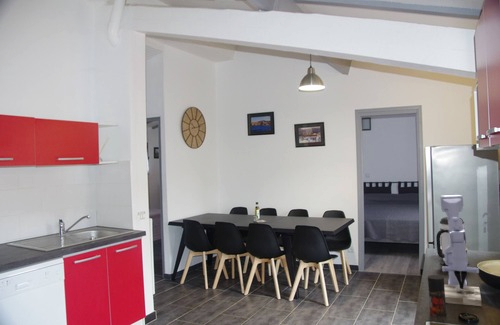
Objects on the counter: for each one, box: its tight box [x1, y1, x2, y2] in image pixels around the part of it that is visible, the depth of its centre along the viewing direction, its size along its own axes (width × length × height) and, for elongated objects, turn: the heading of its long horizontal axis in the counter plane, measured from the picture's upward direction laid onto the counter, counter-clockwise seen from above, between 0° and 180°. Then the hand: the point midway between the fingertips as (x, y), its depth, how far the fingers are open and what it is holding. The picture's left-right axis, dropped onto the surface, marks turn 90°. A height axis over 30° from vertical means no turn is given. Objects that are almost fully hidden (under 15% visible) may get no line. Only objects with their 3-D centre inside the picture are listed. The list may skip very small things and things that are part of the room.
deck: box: [444, 284, 482, 307], centre depth 178 cm, size 18×17×2 cm
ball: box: [456, 285, 464, 292], centre depth 178 cm, size 3×3×3 cm
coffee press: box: [435, 216, 470, 266], centre depth 230 cm, size 17×16×30 cm
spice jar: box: [427, 274, 447, 318], centre depth 162 cm, size 6×6×15 cm
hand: (461, 288), depth 177 cm, fingers closed, pressing on ball
